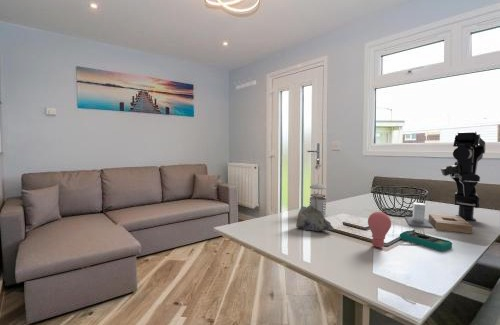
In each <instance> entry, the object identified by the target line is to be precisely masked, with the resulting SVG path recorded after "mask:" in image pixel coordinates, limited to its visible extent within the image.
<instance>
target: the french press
mask: <svg viewBox="0 0 500 325" xmlns="http://www.w3.org/2000/svg"><path fill="white" fill-rule="evenodd" d="M316 167H318V168H320V167H322V164H320V163H318V164H316ZM317 180H318V183H315V184H312V185H310V186H309V189H313V190H314V191H313V193H312V194H310V196H311V197H309V206H311V205H312V206H313V207H315V208H316V209H318V210H319V211H321V212H322V214H323V215H324V218H327V217H328V214H327V209H326V208H327V198H326V195H325V194H322V193H321V194H319V193H320V192H319V191H317V193H316V191H315V190H326V189H327V186H325V185H323V184H321V183H320V182H319V181H320V175H318V177H317Z"/></svg>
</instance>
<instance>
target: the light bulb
mask: <svg viewBox="0 0 500 325" xmlns="http://www.w3.org/2000/svg"><path fill="white" fill-rule="evenodd" d="M367 225H368V228H369V230H370V232H371V234H372V235H371V237H372V240H371V244H372V246H374V247H376V248H383V247H384V244H385V239H386V235H387V234H388V233H389V231H390V229H391V227H392V220H391V218H390V216H389V215H388V214H386V213H385V212H382V211H375V212H372V213H371V214H370V215H369V216H368V218H367Z"/></svg>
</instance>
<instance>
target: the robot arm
mask: <svg viewBox="0 0 500 325" xmlns="http://www.w3.org/2000/svg"><path fill="white" fill-rule="evenodd" d="M452 146H453V147H455V149H454V150H453V152H452V156H453V158H454V159H455V160H456V161H455V162H454V164H453V165H446V167H441V168H440V171H441V175H442V176H444V177H446V176H449V177H450V178H451V179H452V180H453V181H454V183H455V187H456V191H457V192H455V193H454V206H458V211H457V212H458V213H457V214H456V215H455V216H460V217H462V218H463V219H464V220H465V221H477V219H476V218H474V212H475V210H474V209H478V208H480V206H481V205H480V204H481V203H480V199H481V198H480V197H479V195H478V194H477V193H478V192H477V189H476V188H475V187H476V185H477V184H478V183H479V182H480V181H481V177H480V175H478V174H477V169H478V162H480V161H481V160H482V159H483V158H484V154H486V141H485V140H483V139H482V138H481V133H477V131H473V130H472V131H458V132H457V133H456V134H455V137H454V142H453V144H452Z"/></svg>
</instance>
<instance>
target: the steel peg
mask: <svg viewBox="0 0 500 325" xmlns="http://www.w3.org/2000/svg"><path fill="white" fill-rule="evenodd" d="M412 206H413V207H412V217H413V218H412V220H413V222H419V223H424V219H425V216H426V215H425V212H426V204H425V203H423V202H422V203H421V202H413V203H412Z"/></svg>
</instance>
